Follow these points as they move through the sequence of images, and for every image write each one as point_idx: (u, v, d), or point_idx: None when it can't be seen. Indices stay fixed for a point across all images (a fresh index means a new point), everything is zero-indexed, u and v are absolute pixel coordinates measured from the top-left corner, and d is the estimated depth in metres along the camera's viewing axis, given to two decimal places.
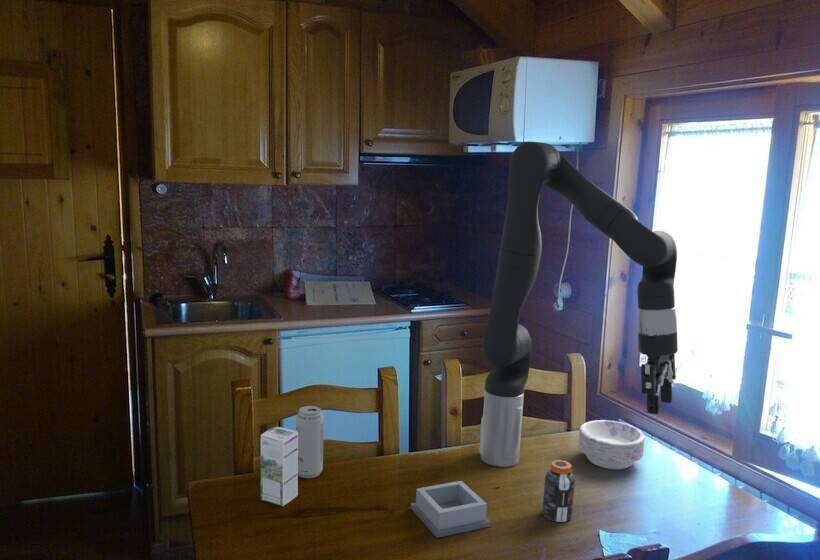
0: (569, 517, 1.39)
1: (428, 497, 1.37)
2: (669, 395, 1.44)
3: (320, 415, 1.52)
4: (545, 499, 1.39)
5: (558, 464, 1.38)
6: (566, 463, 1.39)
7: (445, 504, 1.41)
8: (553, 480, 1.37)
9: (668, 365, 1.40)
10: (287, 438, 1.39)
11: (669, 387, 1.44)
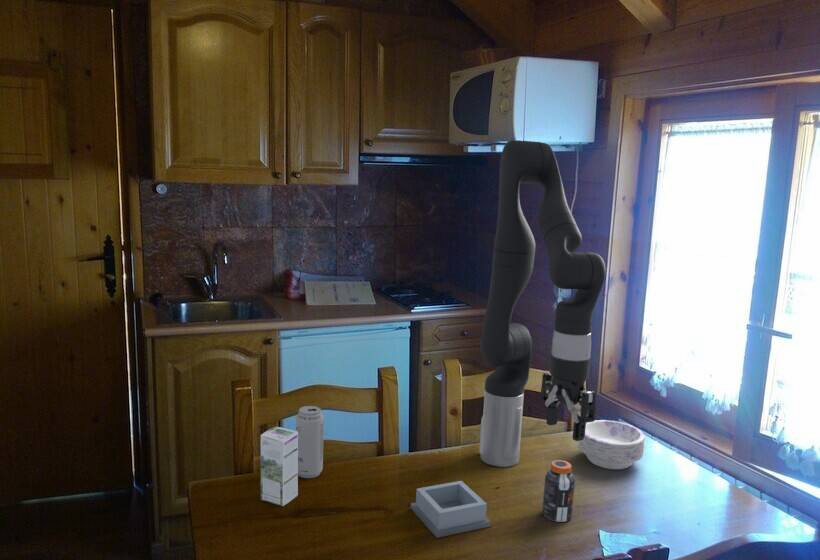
0: (569, 517, 1.39)
1: (428, 497, 1.37)
2: None
3: (320, 415, 1.52)
4: (545, 499, 1.39)
5: (558, 464, 1.39)
6: (566, 463, 1.39)
7: (445, 504, 1.41)
8: (553, 480, 1.37)
9: None
10: (287, 438, 1.39)
11: None
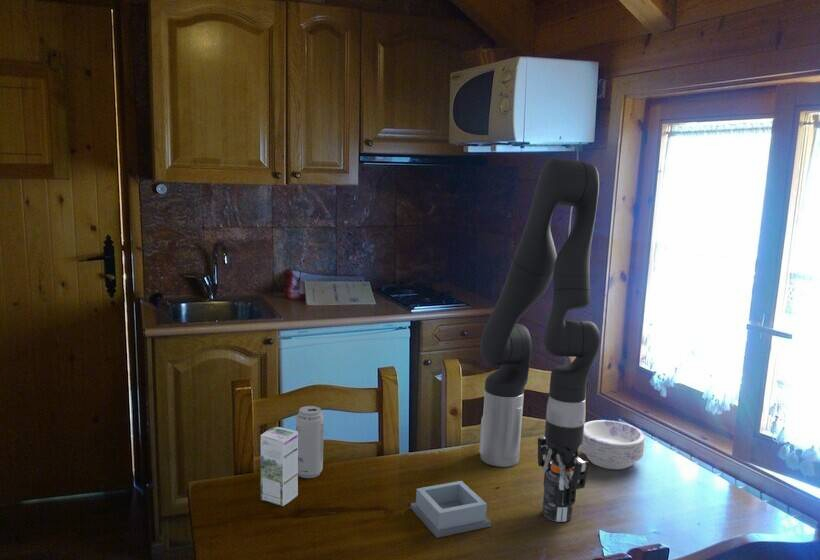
0: (569, 517, 1.39)
1: (428, 497, 1.37)
2: None
3: (320, 415, 1.52)
4: (545, 499, 1.39)
5: None
6: None
7: (445, 504, 1.41)
8: (553, 480, 1.37)
9: None
10: (288, 438, 1.39)
11: None
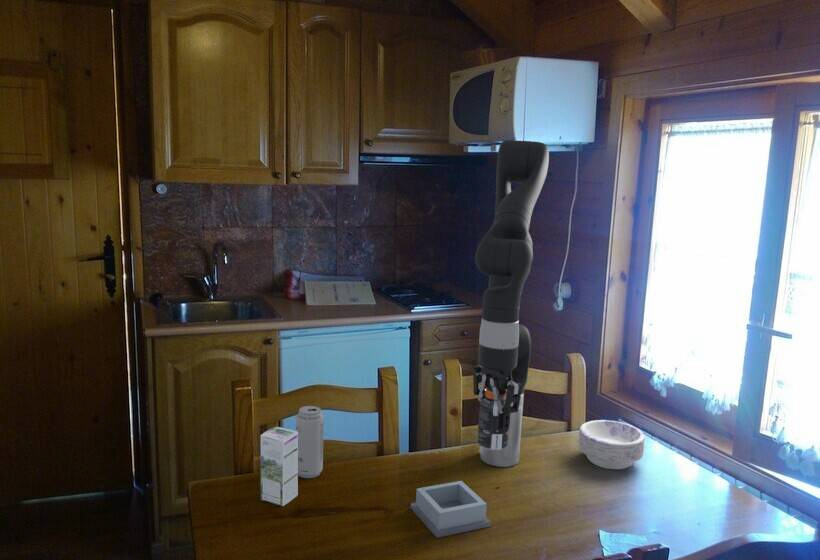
0: (504, 445, 1.34)
1: (428, 497, 1.37)
2: None
3: (320, 415, 1.52)
4: (480, 427, 1.35)
5: None
6: None
7: (445, 504, 1.41)
8: (487, 406, 1.33)
9: None
10: (287, 438, 1.39)
11: None
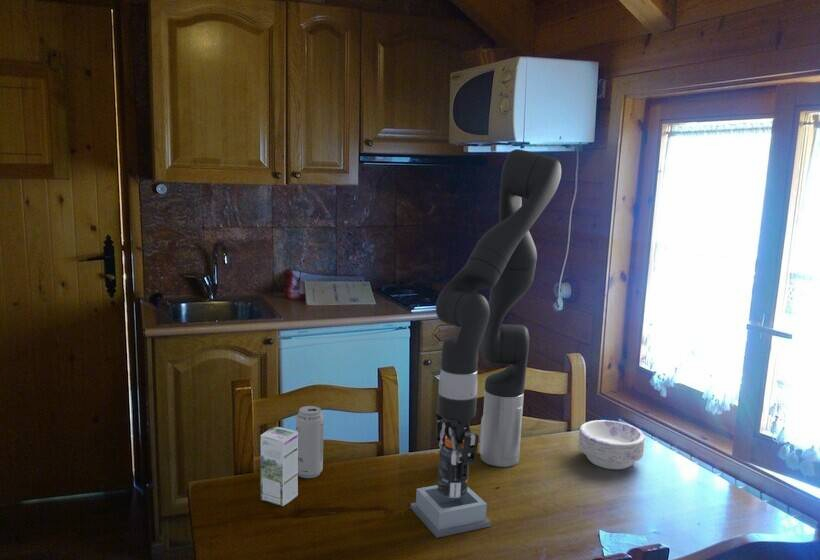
0: (463, 493, 1.35)
1: (428, 497, 1.37)
2: None
3: (320, 415, 1.52)
4: (439, 475, 1.36)
5: None
6: None
7: (445, 504, 1.41)
8: (445, 455, 1.34)
9: None
10: (287, 438, 1.39)
11: None
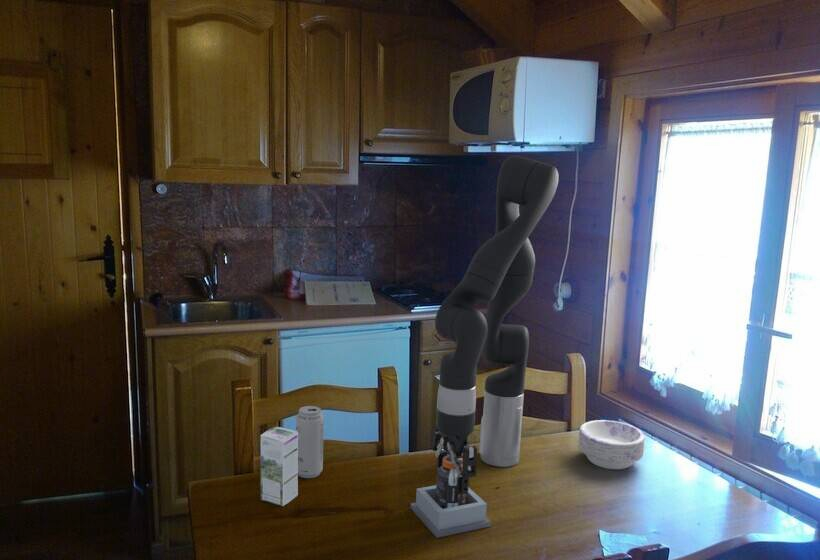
0: None
1: (428, 497, 1.37)
2: None
3: (320, 415, 1.52)
4: (436, 495, 1.37)
5: (449, 459, 1.36)
6: (458, 458, 1.37)
7: None
8: (443, 475, 1.35)
9: None
10: (287, 438, 1.39)
11: None
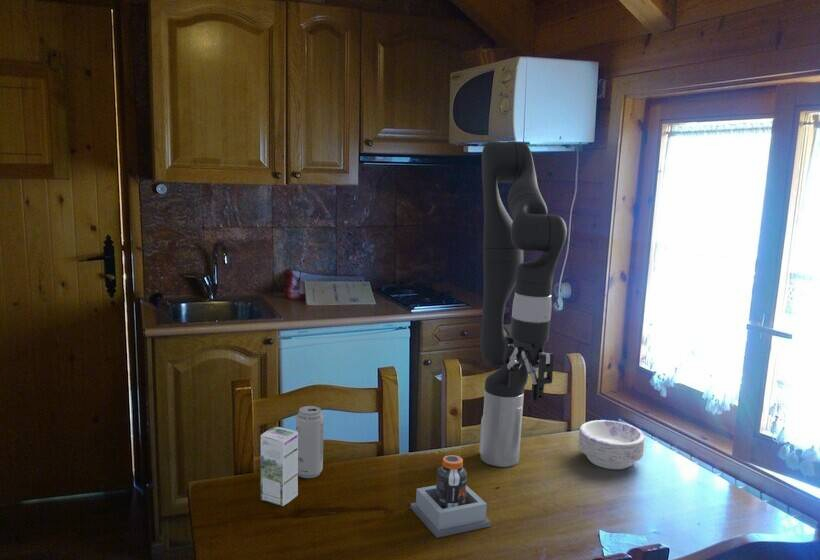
0: None
1: (428, 497, 1.37)
2: None
3: (320, 415, 1.52)
4: (436, 495, 1.37)
5: (449, 459, 1.36)
6: (458, 458, 1.37)
7: None
8: (443, 475, 1.35)
9: None
10: (287, 438, 1.39)
11: None
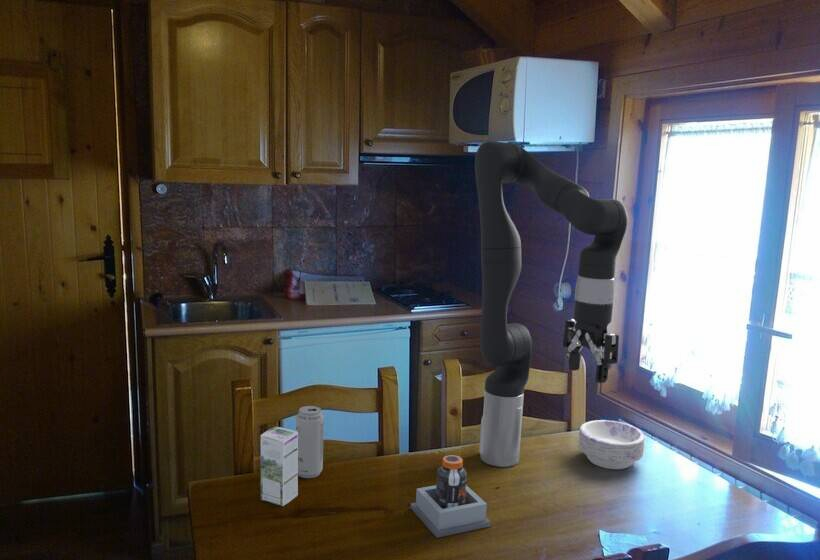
0: None
1: (428, 497, 1.37)
2: None
3: (320, 415, 1.52)
4: (436, 495, 1.37)
5: (449, 459, 1.36)
6: (458, 458, 1.37)
7: None
8: (443, 475, 1.35)
9: None
10: (287, 438, 1.39)
11: None
